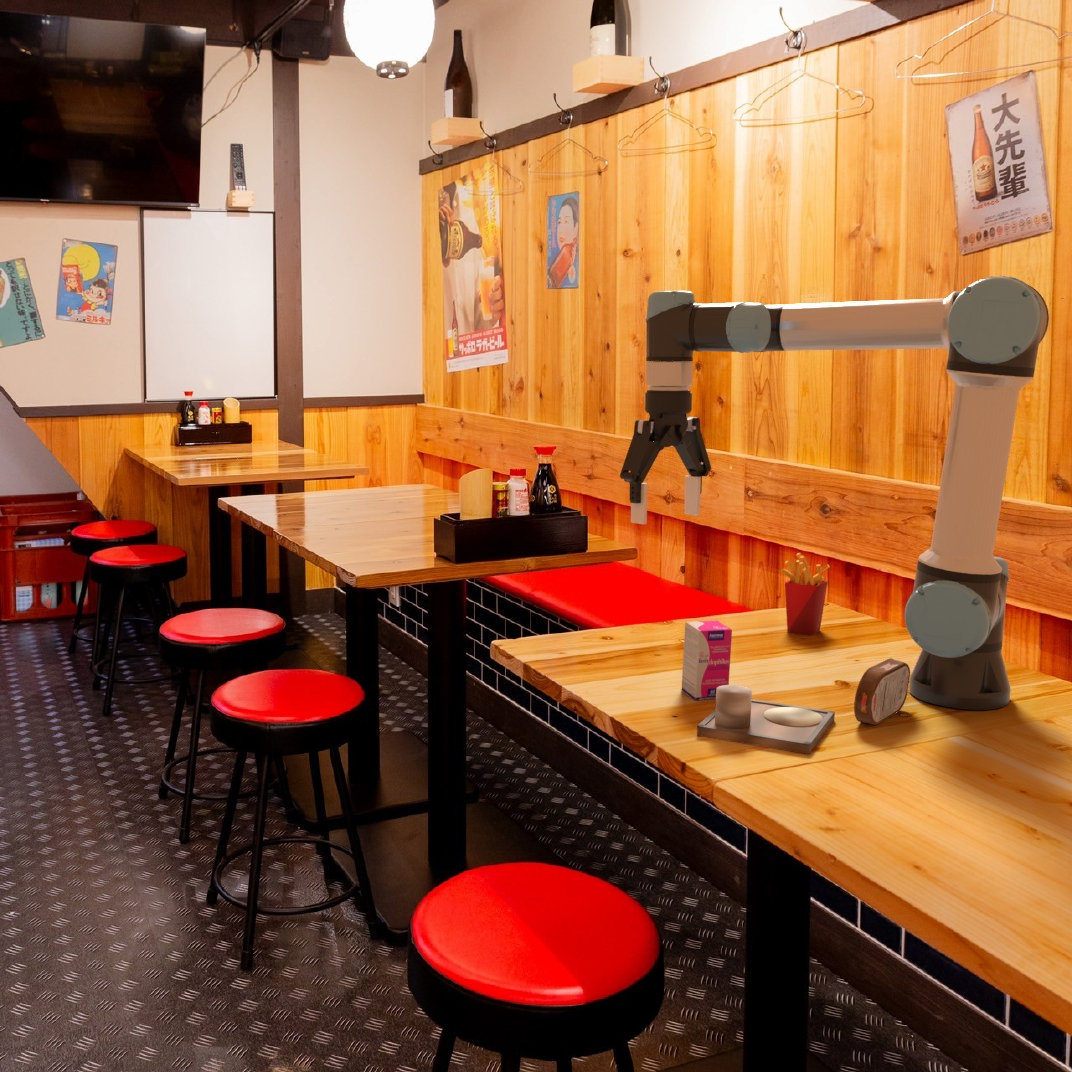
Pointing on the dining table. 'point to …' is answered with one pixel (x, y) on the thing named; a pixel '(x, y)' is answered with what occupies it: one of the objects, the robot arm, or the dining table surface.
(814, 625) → the french fries
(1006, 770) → the dining table surface
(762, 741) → the board
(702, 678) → the supplement box
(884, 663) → the tin
